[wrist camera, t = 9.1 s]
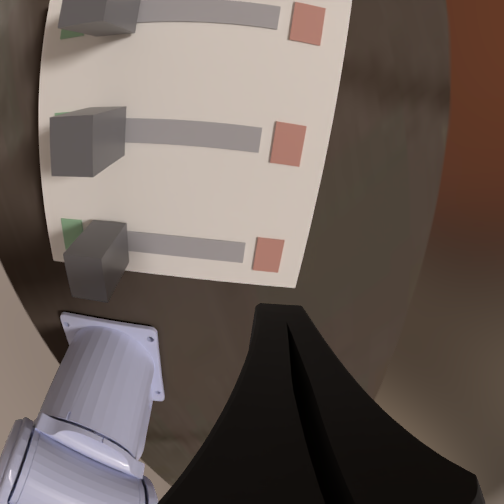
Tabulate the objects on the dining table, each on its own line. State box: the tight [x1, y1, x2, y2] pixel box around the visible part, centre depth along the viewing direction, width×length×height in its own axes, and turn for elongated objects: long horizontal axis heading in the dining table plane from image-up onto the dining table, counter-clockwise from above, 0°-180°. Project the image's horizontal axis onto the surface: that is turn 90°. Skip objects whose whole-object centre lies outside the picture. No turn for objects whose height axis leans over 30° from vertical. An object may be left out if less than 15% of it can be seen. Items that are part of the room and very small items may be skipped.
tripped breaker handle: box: [50, 106, 127, 177], centre depth 11 cm, size 2×2×4 cm
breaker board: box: [39, 0, 352, 303], centre depth 12 cm, size 16×15×5 cm
